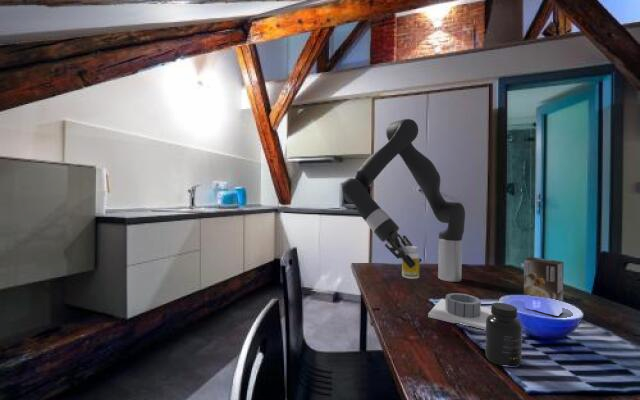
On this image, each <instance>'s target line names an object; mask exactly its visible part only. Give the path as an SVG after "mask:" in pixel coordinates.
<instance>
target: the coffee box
mask: <svg viewBox="0 0 640 400" xmlns="http://www.w3.org/2000/svg"><path fill="white" fill-rule="evenodd" d="M523 262H524V263H523V264H524V265H523V296H524V295H530V296H539V297H545V298H551V299H555V300H559V301H563V302H564V261H561V260H554V259H553V260H552V259H549V258H547V259H546V258H540V257H532V256H530V257H526V258H525V259H524V261H523Z"/></svg>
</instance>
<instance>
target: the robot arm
mask: <svg viewBox="0 0 640 400" xmlns="http://www.w3.org/2000/svg"><path fill="white" fill-rule="evenodd" d="M418 134H419V126H418V124H417V122H416V121H415V120H414V119H412V118H404V119H400V120H396V121H394V122H391V123H388V125H387V127H386V132H385V135H386V138H387V140H388V141H387V142H386V143H385V144H384V145H383V146H382V147H380V148H379V149H378V150H376V151H374V153H373V154H371V155H370V156H368V158H367V159H366V160H365V161H364V162H363V163H362V164H361V166H359V168H358V170H357V171H356V174H355V177H351V178H347V179H345V180H344V182H343V183H342V187H341V189H342V196H343V199H344V200H345V202H347V203H349V204H353V205H354V206H355V208H356V212H357V213H358V214H359V216H361V218H362V219H363V221H365V222H366V224H367V226H368V227H369V229H370V230H371V231H372V232H373V233H374V235H376V237H378V240H380V241H381V242H382V243H384V242H386V243H385V244H384V247H385V248H386V249H387V250H388V251H389V252H390V253H391V254H392V255H394V257H396V259H398V260H399V259H400V260H402V259H403V260H404V262H405V263H406V264H407V265H408V266H409V267H410V268H412V267H413V266H415V265H416V263H415V262H414V261H413V260H412V259H411V257H410V256H409V255H407V253H406V251H405V246H414V245H413V244H412V242H411V241H410V239H408V237H407V235H401V234H399V233H398V231H399V230H400V226H398V224H397V223H396V222H395V221H394V220H393V219H392V218H391V217H390V215H389V214H387V212H386V211H384V210H383V209H382V208H381V206H380V205H379V204H378V203H377V202H376V201H375V200H374V199H373V198H372V196H371V194H370V193H369V191H368V189H369V187H370V186H371V184H372V183H373V181H375V180H376V178H377V177H378V176H379V175H380V173H382V172H383V170H384V169H385V168H386V167H387V165H388V164H390V162H392V161H393V160H394V159H395V158H396V157H397V156H398V155H399V157H400V158H401V159H402V161H403V162H404V164H405V165H406V167H407V168H408V170H409V171H410V173H411V175H412V177H413V179H414V180H415V182H416V183H417V185H418V186H419V188H420V189H421V191H422V192H423V195H424V197H425V198H426V200H427V202H428V204H429V205H430V208H431V210H432V213H433V215H434V216H435V218H436V219H437V221H438V222H440V223H442V224H443V223H444V224H447V228H446V229H444V230H442V231H439V233H438V258H437V259H438V267H437V269H438V270H437V271H438V272H437V277H438V279H440V280H441V281H446V282H453V283H454V282H457V283H458V282H462V268H463V267H462V265H463V264H462V261H463V260H462V259H463V258H462V255H463V236H464V232H465V224H466V223H465V222H466V219H465V218H466V209H465V207H464V204H462V203H461V202H455V201H446V200H445V199H444V197H443V195H442V194H441V189H440V188H441V176H440V175H441V174H440V173H439V171H438V169H437V168H436V166H435V164H434V163H433V161H431V159H429V158H428V157H426V155H424V154H423V153H421V152H420V150H417V148H415V146H414V145H413V142H414V140H416V138H417V137H418ZM421 262H422V259H421V258H420V263H421Z"/></svg>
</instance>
